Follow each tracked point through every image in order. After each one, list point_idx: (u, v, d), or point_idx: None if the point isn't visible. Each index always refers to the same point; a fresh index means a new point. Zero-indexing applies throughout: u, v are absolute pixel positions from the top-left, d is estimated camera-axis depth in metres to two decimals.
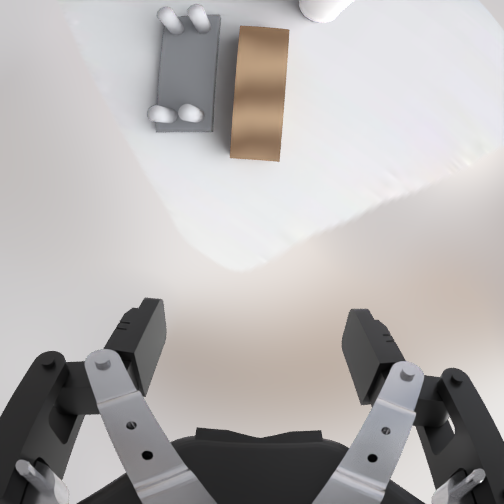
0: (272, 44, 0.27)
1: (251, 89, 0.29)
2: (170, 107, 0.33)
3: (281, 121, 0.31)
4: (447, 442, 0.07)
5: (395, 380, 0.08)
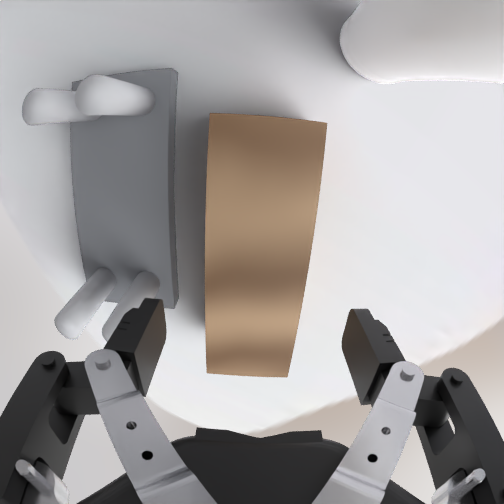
0: (286, 165, 0.14)
1: (238, 270, 0.16)
2: (102, 264, 0.20)
3: (295, 325, 0.17)
4: (447, 442, 0.07)
5: (395, 380, 0.08)
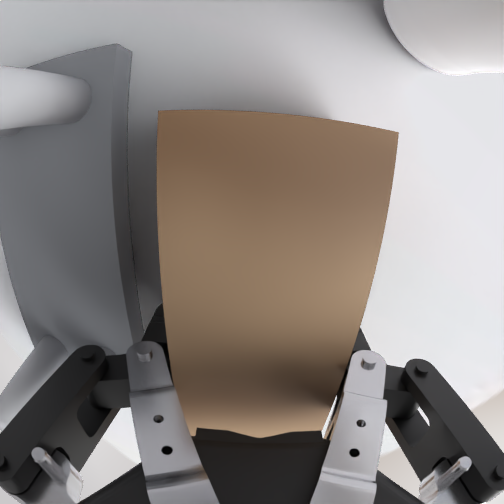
0: (318, 218, 0.07)
1: (228, 387, 0.09)
2: (48, 332, 0.13)
3: None
4: (421, 432, 0.08)
5: (357, 370, 0.08)
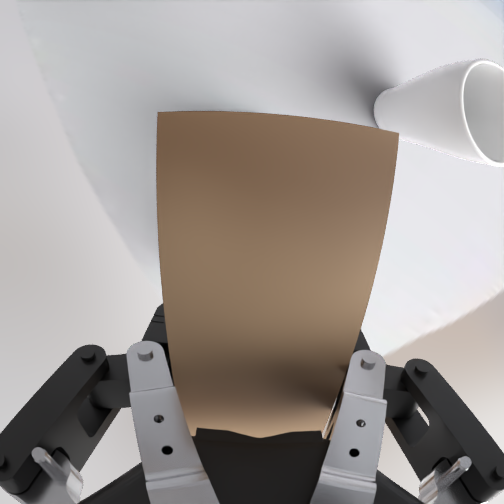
0: (319, 219, 0.07)
1: (229, 388, 0.09)
2: None
3: None
4: (421, 432, 0.08)
5: (357, 370, 0.08)
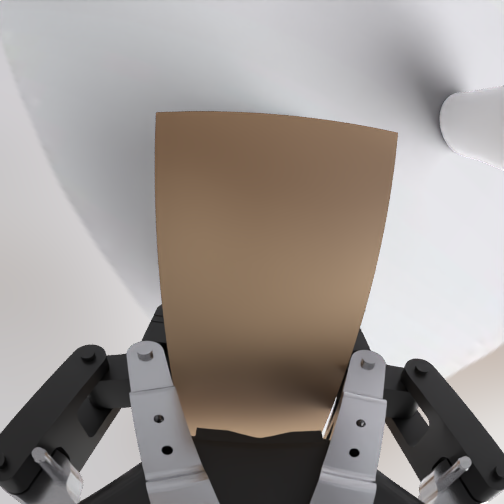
0: (317, 219, 0.07)
1: (228, 389, 0.09)
2: None
3: None
4: (421, 432, 0.08)
5: (357, 370, 0.08)
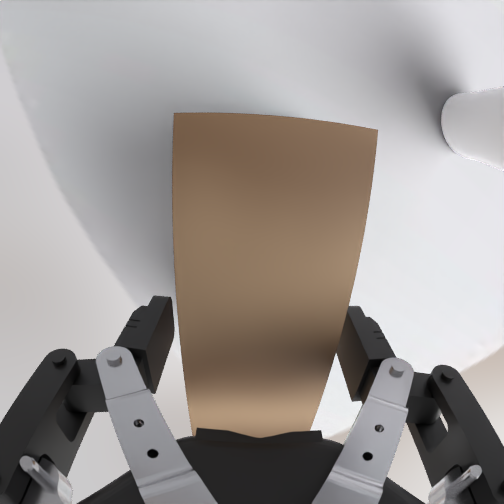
0: (309, 203, 0.08)
1: (232, 360, 0.10)
2: None
3: (312, 416, 0.12)
4: (440, 439, 0.07)
5: (385, 377, 0.08)
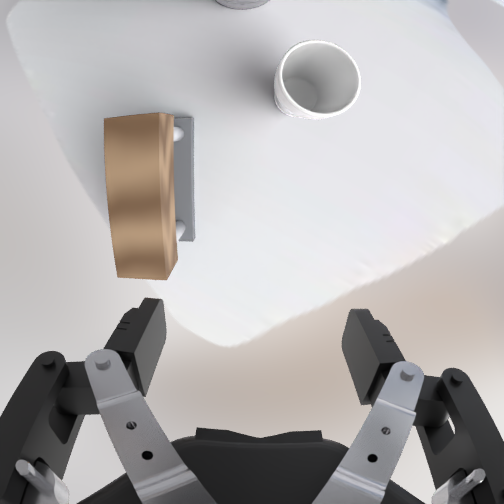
0: (140, 139, 0.24)
1: (124, 201, 0.26)
2: None
3: (161, 236, 0.27)
4: (447, 442, 0.07)
5: (395, 380, 0.08)
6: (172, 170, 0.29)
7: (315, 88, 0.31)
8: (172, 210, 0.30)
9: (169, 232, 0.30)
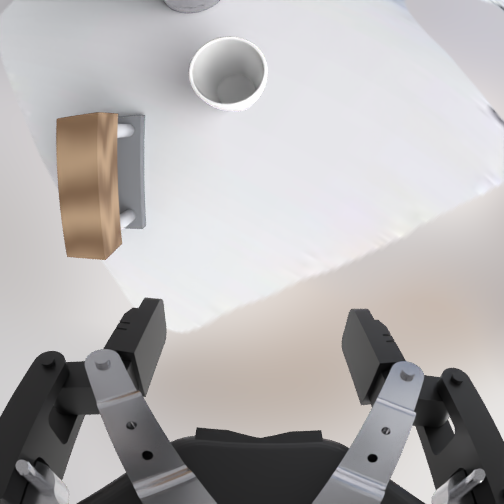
0: (83, 135, 0.25)
1: (70, 189, 0.28)
2: None
3: (99, 220, 0.29)
4: (447, 442, 0.07)
5: (395, 380, 0.08)
6: (115, 162, 0.31)
7: (253, 83, 0.33)
8: (115, 198, 0.32)
9: (111, 217, 0.31)
